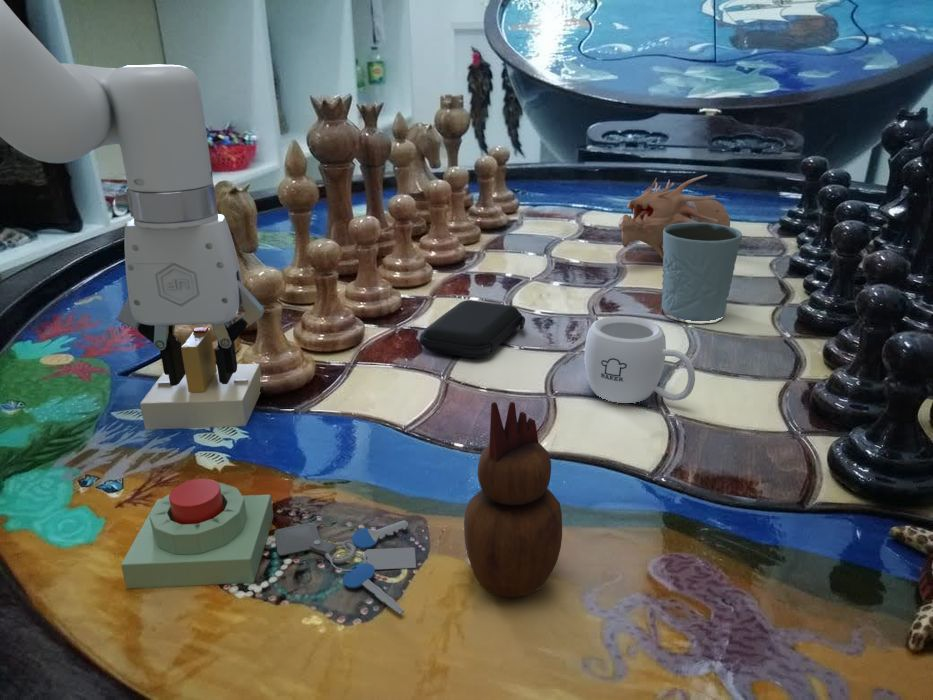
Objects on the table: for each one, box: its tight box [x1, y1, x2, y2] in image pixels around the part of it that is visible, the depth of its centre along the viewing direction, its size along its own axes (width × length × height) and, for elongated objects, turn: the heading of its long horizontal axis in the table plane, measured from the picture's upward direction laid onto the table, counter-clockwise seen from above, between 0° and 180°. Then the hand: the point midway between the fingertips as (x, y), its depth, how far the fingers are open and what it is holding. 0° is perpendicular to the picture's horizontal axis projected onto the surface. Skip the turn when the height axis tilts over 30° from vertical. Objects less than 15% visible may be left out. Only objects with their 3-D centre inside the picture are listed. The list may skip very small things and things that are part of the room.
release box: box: [120, 482, 275, 590], centre depth 55 cm, size 9×8×4 cm
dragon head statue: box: [618, 174, 731, 260], centre depth 125 cm, size 13×15×25 cm
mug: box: [584, 315, 696, 404], centre depth 78 cm, size 12×8×8 cm
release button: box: [169, 478, 223, 524], centre depth 54 cm, size 4×4×2 cm
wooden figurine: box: [463, 401, 563, 598], centre depth 50 cm, size 7×6×15 cm
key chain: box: [273, 519, 417, 615], centre depth 56 cm, size 14×8×1 cm, turn 56°
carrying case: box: [419, 299, 526, 360], centre depth 94 cm, size 11×3×15 cm
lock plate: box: [139, 363, 262, 431], centre depth 77 cm, size 10×9×3 cm
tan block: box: [181, 326, 217, 392], centre depth 76 cm, size 5×2×5 cm, turn 3°
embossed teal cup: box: [661, 222, 743, 321], centre depth 101 cm, size 10×10×12 cm
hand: (202, 377), depth 76 cm, fingers open, 4 cm apart
